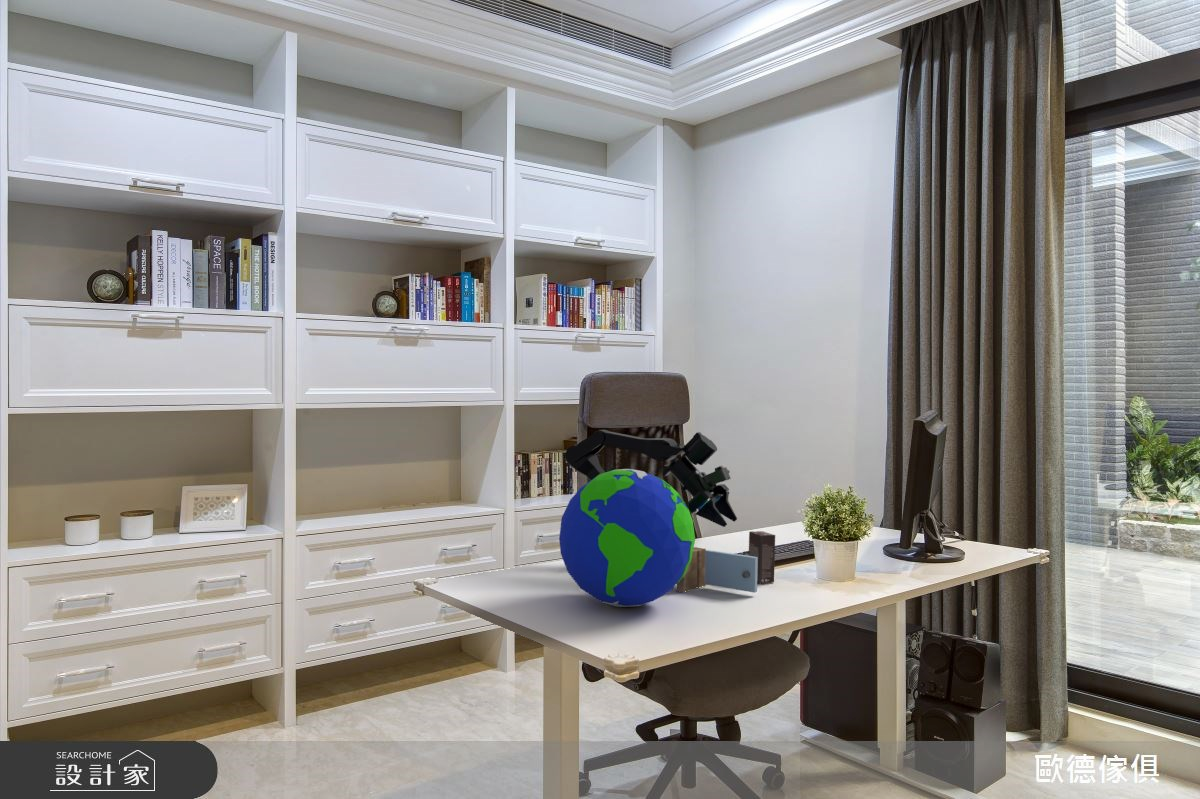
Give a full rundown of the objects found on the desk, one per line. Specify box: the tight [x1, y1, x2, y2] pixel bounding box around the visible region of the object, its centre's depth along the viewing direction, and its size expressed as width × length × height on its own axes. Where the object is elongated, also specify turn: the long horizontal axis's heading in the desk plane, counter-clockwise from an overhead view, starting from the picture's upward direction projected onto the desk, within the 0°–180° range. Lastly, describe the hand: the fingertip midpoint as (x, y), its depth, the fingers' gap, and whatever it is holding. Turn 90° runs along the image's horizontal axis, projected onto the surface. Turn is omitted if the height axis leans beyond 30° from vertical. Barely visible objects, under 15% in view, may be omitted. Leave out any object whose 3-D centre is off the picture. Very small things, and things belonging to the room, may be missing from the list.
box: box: [748, 530, 776, 585], centre depth 205 cm, size 6×4×12 cm
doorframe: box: [676, 546, 707, 593], centre depth 202 cm, size 22×3×9 cm, turn 142°
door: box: [705, 549, 758, 594], centre depth 193 cm, size 13×2×8 cm, turn 54°
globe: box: [558, 468, 696, 608], centre depth 181 cm, size 30×30×30 cm
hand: (730, 523), depth 209 cm, fingers open, 9 cm apart
